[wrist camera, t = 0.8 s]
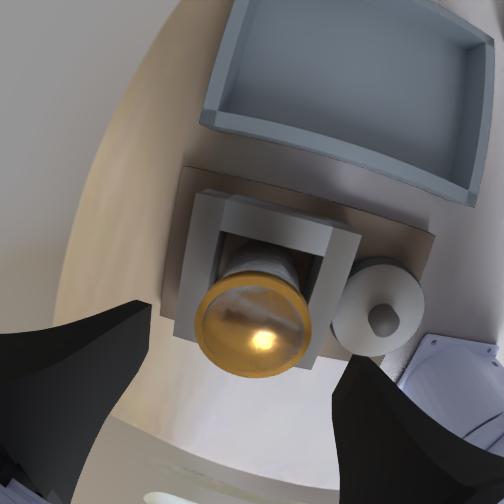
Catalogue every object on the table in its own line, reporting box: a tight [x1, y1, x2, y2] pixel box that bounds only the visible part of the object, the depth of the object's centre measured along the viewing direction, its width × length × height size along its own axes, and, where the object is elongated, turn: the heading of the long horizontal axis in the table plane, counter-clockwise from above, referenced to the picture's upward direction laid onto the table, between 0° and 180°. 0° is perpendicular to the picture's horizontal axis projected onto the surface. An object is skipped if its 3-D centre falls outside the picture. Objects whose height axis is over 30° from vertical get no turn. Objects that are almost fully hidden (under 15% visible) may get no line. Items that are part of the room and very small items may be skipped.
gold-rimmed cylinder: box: [194, 239, 312, 378], centre depth 15 cm, size 5×5×7 cm
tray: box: [199, 0, 495, 208], centre depth 14 cm, size 16×12×3 cm
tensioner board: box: [160, 166, 435, 370], centre depth 17 cm, size 16×10×4 cm, turn 77°
